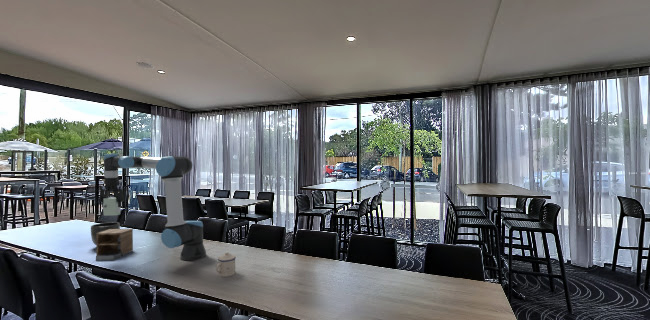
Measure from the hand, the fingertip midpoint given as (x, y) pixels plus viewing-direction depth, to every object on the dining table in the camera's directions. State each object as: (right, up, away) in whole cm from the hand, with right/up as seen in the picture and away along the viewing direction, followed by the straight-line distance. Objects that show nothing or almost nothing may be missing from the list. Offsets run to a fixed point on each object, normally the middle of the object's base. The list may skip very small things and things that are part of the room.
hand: (112, 212), depth 194 cm
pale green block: (0, -2, 0) cm, 2 cm away
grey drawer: (+1, -29, -4) cm, 29 cm away
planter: (-22, -29, +24) cm, 44 cm away
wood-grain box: (-3, -29, +7) cm, 30 cm away
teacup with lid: (+85, -28, -34) cm, 96 cm away
